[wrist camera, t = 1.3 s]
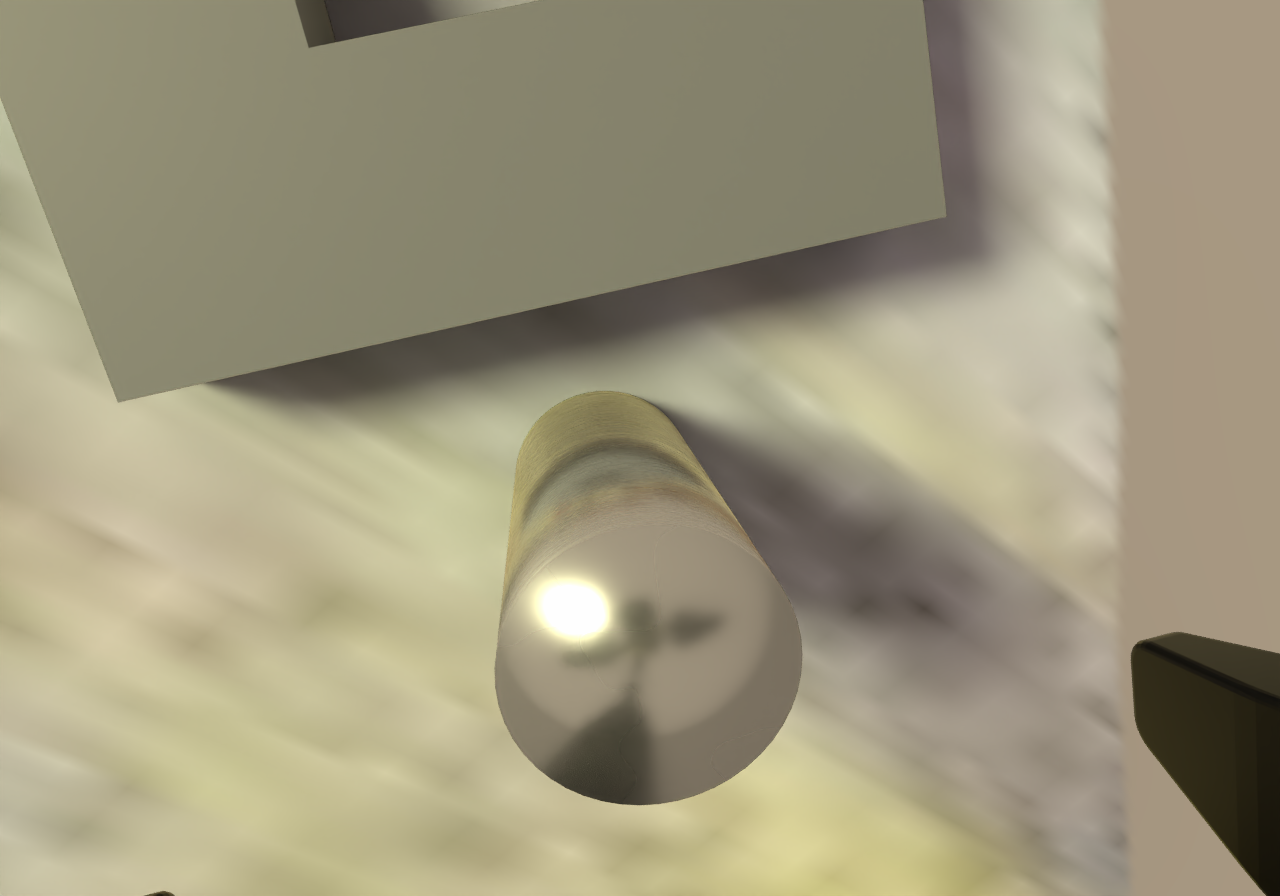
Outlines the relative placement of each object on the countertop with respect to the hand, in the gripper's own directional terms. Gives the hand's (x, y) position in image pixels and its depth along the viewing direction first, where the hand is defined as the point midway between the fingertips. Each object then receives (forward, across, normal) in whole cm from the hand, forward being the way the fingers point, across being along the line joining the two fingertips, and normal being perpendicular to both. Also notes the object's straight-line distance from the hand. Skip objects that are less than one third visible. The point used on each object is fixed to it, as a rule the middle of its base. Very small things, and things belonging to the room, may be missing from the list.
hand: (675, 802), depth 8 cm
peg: (+10, 0, 0) cm, 10 cm away
